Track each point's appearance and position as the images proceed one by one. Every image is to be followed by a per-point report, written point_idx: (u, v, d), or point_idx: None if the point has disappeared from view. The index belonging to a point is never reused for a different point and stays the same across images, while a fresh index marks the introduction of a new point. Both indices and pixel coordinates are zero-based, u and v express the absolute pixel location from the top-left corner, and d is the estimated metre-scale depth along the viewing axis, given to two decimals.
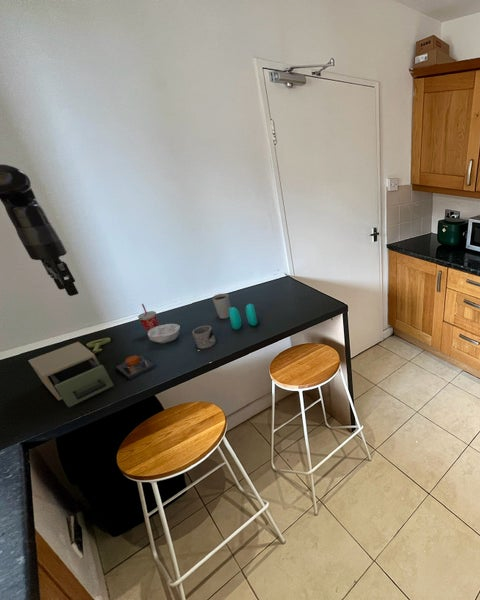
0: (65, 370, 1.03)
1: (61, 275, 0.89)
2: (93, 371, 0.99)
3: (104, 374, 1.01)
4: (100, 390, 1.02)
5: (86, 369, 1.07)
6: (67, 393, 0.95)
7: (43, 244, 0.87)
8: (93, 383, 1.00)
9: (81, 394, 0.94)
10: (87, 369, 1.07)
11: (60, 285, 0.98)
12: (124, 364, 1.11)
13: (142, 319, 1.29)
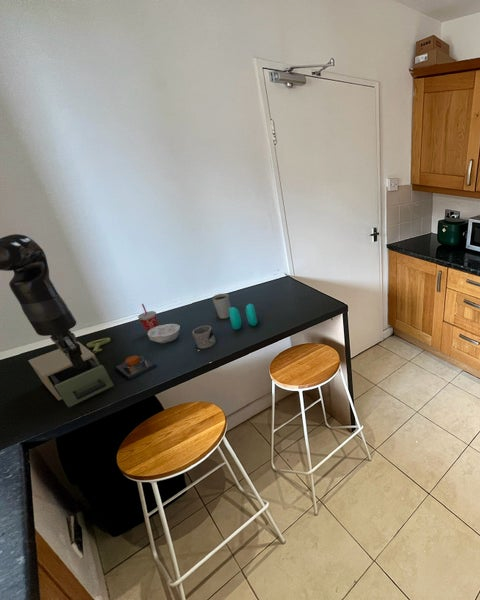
0: (65, 370, 1.03)
1: (71, 355, 0.83)
2: (93, 371, 0.99)
3: (104, 374, 1.01)
4: (100, 390, 1.02)
5: (86, 369, 1.07)
6: (67, 393, 0.95)
7: (51, 319, 0.79)
8: (93, 383, 1.00)
9: (81, 394, 0.94)
10: (87, 369, 1.07)
11: None
12: (124, 364, 1.11)
13: (142, 319, 1.29)
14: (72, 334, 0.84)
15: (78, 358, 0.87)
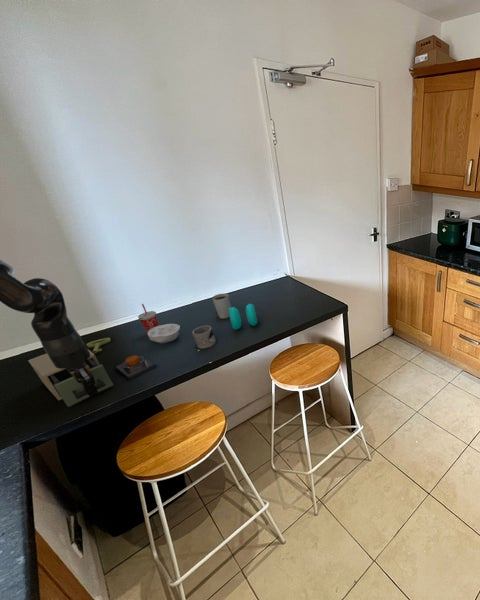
0: (65, 370, 1.03)
1: (85, 384, 0.90)
2: (92, 371, 0.99)
3: (104, 373, 1.02)
4: (99, 390, 1.02)
5: None
6: (67, 392, 0.95)
7: (68, 354, 0.86)
8: None
9: (80, 393, 0.95)
10: None
11: None
12: (124, 364, 1.11)
13: (142, 319, 1.29)
14: (86, 365, 0.92)
15: (91, 386, 0.94)
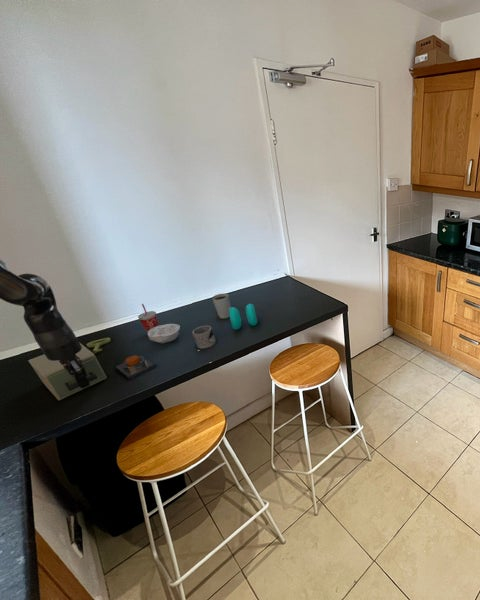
0: None
1: (77, 376, 0.93)
2: (85, 364, 1.02)
3: (96, 366, 1.05)
4: (92, 382, 1.05)
5: None
6: (59, 385, 0.98)
7: (60, 346, 0.89)
8: None
9: (73, 386, 0.98)
10: None
11: None
12: (124, 364, 1.11)
13: (142, 319, 1.29)
14: (78, 358, 0.95)
15: (83, 379, 0.97)
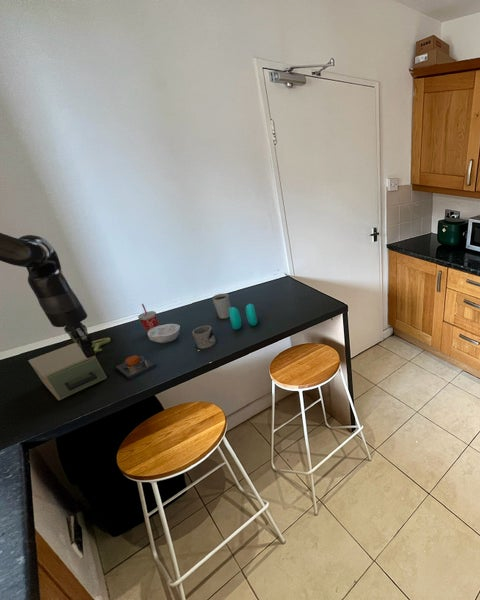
0: None
1: (82, 344, 0.91)
2: (85, 364, 1.02)
3: (96, 366, 1.05)
4: (92, 382, 1.05)
5: None
6: (59, 385, 0.98)
7: (65, 312, 0.86)
8: (85, 375, 1.03)
9: (73, 386, 0.98)
10: None
11: None
12: (124, 364, 1.11)
13: (142, 319, 1.29)
14: (83, 326, 0.92)
15: (89, 348, 0.94)
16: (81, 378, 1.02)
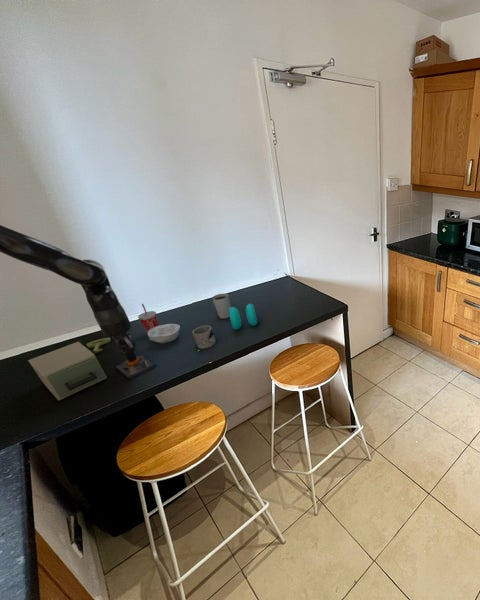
0: None
1: (128, 350, 1.06)
2: (85, 364, 1.02)
3: (96, 366, 1.05)
4: (92, 382, 1.05)
5: None
6: (59, 385, 0.98)
7: (115, 323, 1.02)
8: (85, 375, 1.03)
9: (73, 386, 0.98)
10: None
11: None
12: (124, 364, 1.11)
13: (142, 319, 1.29)
14: (128, 334, 1.08)
15: (132, 353, 1.10)
16: (81, 378, 1.02)
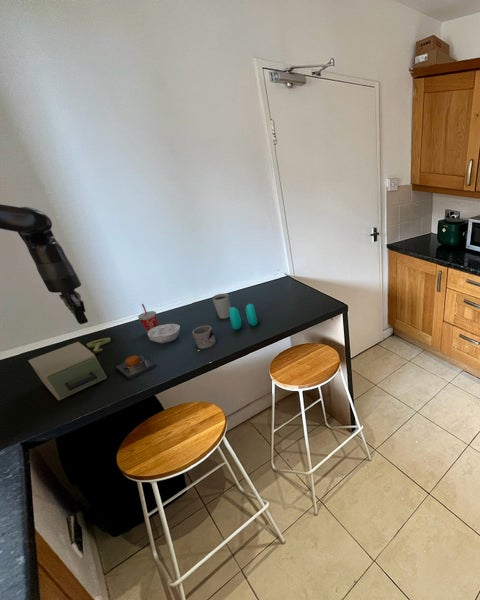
0: None
1: (76, 310, 0.98)
2: (85, 364, 1.02)
3: (96, 366, 1.05)
4: (92, 382, 1.05)
5: None
6: (59, 385, 0.98)
7: (60, 278, 0.94)
8: (85, 375, 1.03)
9: (73, 386, 0.98)
10: None
11: None
12: (124, 364, 1.11)
13: (142, 319, 1.29)
14: (77, 293, 1.00)
15: (82, 315, 1.02)
16: (81, 378, 1.02)
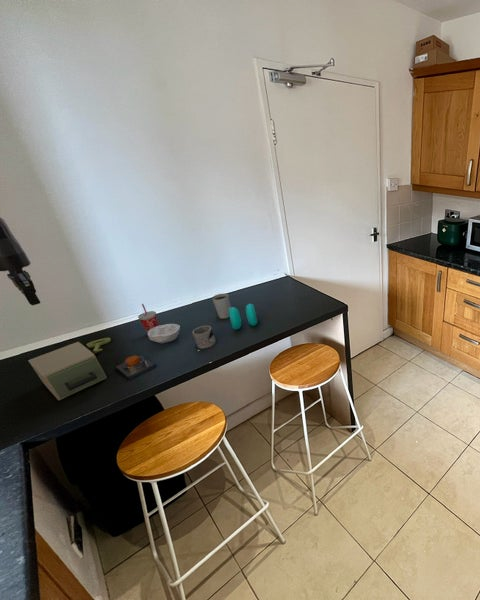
0: None
1: (25, 290, 0.95)
2: (85, 364, 1.02)
3: (96, 366, 1.05)
4: (92, 382, 1.05)
5: None
6: (59, 385, 0.98)
7: (6, 256, 0.91)
8: (85, 375, 1.03)
9: (73, 386, 0.98)
10: None
11: None
12: (124, 364, 1.11)
13: (142, 319, 1.29)
14: (26, 273, 0.96)
15: (33, 295, 0.99)
16: (81, 378, 1.02)
